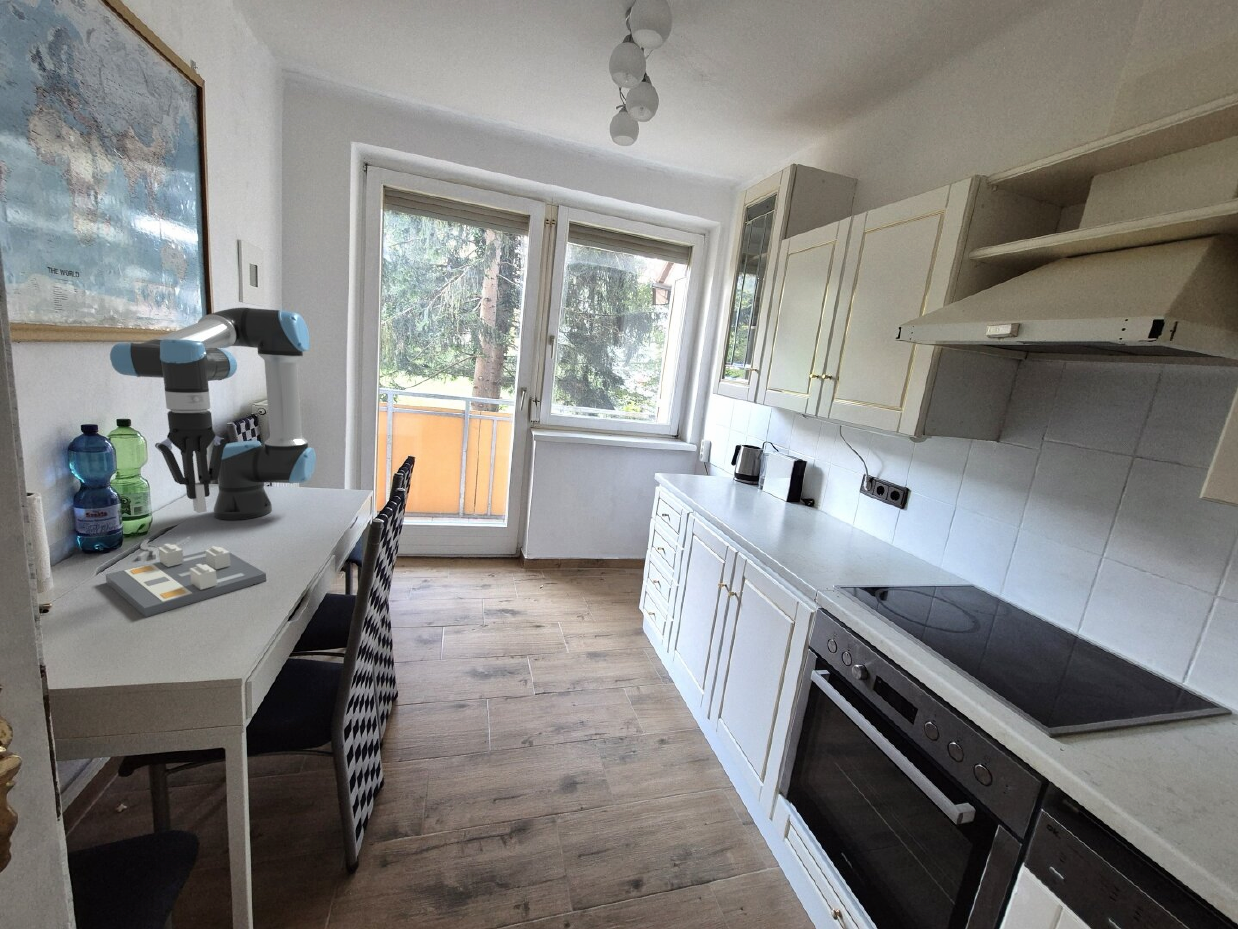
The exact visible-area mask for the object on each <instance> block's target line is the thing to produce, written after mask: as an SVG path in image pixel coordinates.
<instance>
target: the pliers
mask: <svg viewBox="0 0 1238 929" xmlns="http://www.w3.org/2000/svg"><path fill="white" fill-rule="evenodd" d="M191 538H192V537H191V536H189V535H188V536H187V537H185V538H184V539H182V540H181V541H178V542H174V543H169V544H170V545H173V544H174V545H176V546H178V547H180V546H183V545H184V543H185V544H186V543H187V541H188V540H189V541H190V540H191ZM150 540H151V539H150V538H147V539H145V540H144V541H142V542H141V544H140V549H141V551H143V552H141V553H139V554H138V555H137V561H142V560H144V558H145V559H147V558H148V557H150V556H152V560H156V558H157V559H158V557H159V551H158V548H159V547H158V546H157V545H154V544H149V542H150ZM189 541H188V542H189ZM161 547H164V545H162V546H161Z"/></svg>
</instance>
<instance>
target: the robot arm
mask: <svg viewBox="0 0 1238 929" xmlns="http://www.w3.org/2000/svg"><path fill="white" fill-rule="evenodd" d="M307 326H308V325H307V323H306V322H305V320H304V319H303V317H302V316H301V315H300V314H299V313H298V312H294V311H288V310H284V309H283V310H282V309H281V310H279V309H267V308H266V309H265V308H264V309H263V308H253V307H232V308H227V309H223V310H218V311H216V312H212V313H208V314H206V315H203V316H202V317H200V319H199V320H197V322H196V323H193V324H191V325H188V326H185V327H183V328H180V329H177V330H175V331H172V332H169V333H165V334H164V335H161V336H158V337H156V338H153V339H150V340H147V341H144V342H141V343H136V342H130V341H129V342H118V343H116V344H114V345H113V346H112V347H111V350H110V353H109V360H110V362H111V366H112V367H113V369H114V370H115V371H116V372H117V373H119V374H120V375H124V376H129V377H130V376H131V377H136V378H157V379H158V378H159V379H160V378H161V379H162V378H163V385H164V395H165V404H166V405H165V407H166V409H168V410H169V411H168V412H167V423H168V431H169V432H168V433H167V436H166V439H164V440H163V441H161V442H156V443H155V444H154V447H155V448H156V449H157V450H158V451H159V452H161V454H162V456H163V458H164V461H165V462H166V465H167V468H168V469H169V472H170V474H171V476H172V478H173V480H174V482H175V483H176V484H180V485H183V486H185V489H186V496H187V499H190V500H192V506H193V511H194V512H196V513H198V514H201V513H206V512H207V503H206V502H207V501H206V497H210V494H211V493H210V484H211V483H212V481H215V480H216V481H217V486H218V494H217V498H216V500H215V504H214V507H213V516H214V518H216V519H218V520H225V521H226V520H227V521H240V520H247V519H248V520H249V519H256V518H259V517H264V516H266V515H268V514H270V513H271V512H272V511H273V510H272V509H273V507H272V502H271V499H270V498H269V496H268V494H267V492H266V489H265V486H264V483H271V484H272V483H273V484H274V483H275V484H279V483H280V484H303V483H306V482H308V481H309V480H310V478H311V477H312V476H313V473H314V471H315V467H316V460H317V454H316V452H315V451H316V450H315V448H313V447H310V446H309V443H308V442H309V441H308V440H307V439H306V438H304V436H303V432H302V415H301V412H302V411H301V398H300V381H299V380H300V379H299V366H298V364H299V361H300V360H301V359H302V358H303V356H304V352H306V351H308V350H309V349H310V343H311V342H310V341H311V340H310V332H309V330H308V327H307ZM230 347H243V348H244V347H246V348H257V355H258V356H259V357H260V358H261V359H263V361H264V373H265V387H266V398H267V399H266V401H267V412H268V413H267V414H268V424H269V425H268V428H269V438H267V439H266V440H265V441H264V446H262V443H261V441H259V440H245V441H236V442H229V440H228V439H227V438H224V437H220V436H218V435H216V432H215V431H214V429H213V420H212V419H213V418H212V412H211V411H210V410H209V409H210V408H211V401H210V400H211V399H210V388H209V382H210V381H223V380H225V379H229V378H231V377H232V376H234V375H235V373H236V372H237V368H238V362H237V360H236V358H235V356H234V355H233V354H232V353H230V352H229V351H228V350H226V349H227V348H230ZM211 444H212V445H213V446H212V450H211V456H210V461H209V463H208V457H207V456H208V447H210V445H211ZM172 445H173V446H174V447H176V448H177V449H178V450H179V451H180V455H181V460H182V470H183V473H182V470H181V469H180V465H179V464H178V461H177V459H176V457H175V455H174V452H173V451H172V450H173V446H172ZM194 454H195V461H196V469H197V477H198V478H197V479H198V482H196V475H195V465H194ZM208 465H209V466H208Z"/></svg>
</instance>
